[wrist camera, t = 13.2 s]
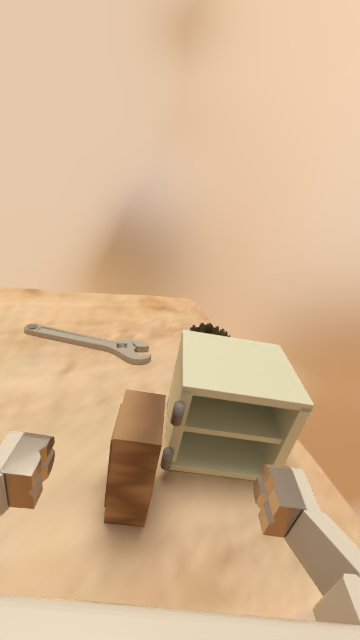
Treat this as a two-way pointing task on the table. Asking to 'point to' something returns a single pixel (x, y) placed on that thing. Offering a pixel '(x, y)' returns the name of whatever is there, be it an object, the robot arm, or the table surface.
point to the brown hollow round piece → (209, 329)
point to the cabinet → (232, 407)
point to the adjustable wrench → (95, 343)
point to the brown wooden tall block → (134, 457)
